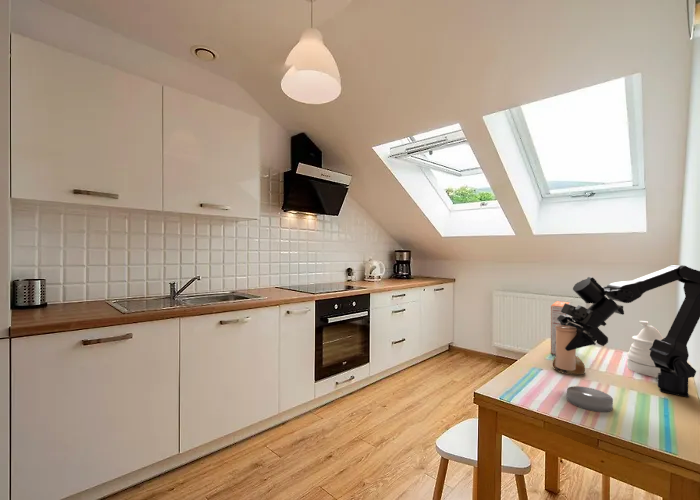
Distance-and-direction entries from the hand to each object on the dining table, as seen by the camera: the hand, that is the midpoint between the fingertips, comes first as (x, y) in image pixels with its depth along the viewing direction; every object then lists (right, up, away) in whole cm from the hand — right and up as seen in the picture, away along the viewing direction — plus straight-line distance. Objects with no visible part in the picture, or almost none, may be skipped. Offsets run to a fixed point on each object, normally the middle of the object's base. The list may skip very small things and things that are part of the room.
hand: (561, 346), depth 110 cm
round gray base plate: (+2, -13, -11) cm, 17 cm away
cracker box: (+23, -13, +38) cm, 46 cm away
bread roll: (+12, -13, +15) cm, 24 cm away
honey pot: (+42, -13, +16) cm, 47 cm away
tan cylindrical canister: (+1, -7, 0) cm, 7 cm away
